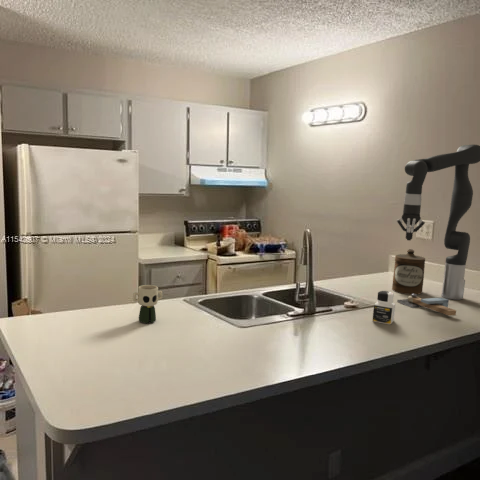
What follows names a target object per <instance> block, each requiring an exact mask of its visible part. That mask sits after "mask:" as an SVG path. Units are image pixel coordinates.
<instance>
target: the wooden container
mask: <svg viewBox="0 0 480 480" xmlns="http://www.w3.org/2000/svg"><path fill="white" fill-rule="evenodd" d="M406 251H407V253H406V254H395V257H394V268H393V275H392V286H391V287H392V288H391V290H392V291H394V292H396V293H400V294H404V295H411V294H412V293H413V294H417V295H420V294H423V286H424V277H425V264H426V258H425V257H424V256H422V255H421V256H420V255H415V254H414V253H415V250H413V249H412V248H411V249H410V248H409V249H407V250H406Z"/></svg>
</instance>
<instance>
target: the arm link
mask: <svg viewBox="0 0 480 480" xmlns="http://www.w3.org/2000/svg"><path fill="white" fill-rule="evenodd" d="M407 299H408V301H409V302H412V303H415V304H418V305H421V306H423V307H422V308H426V309H429V310H432V311H434V312H438V313H441V314H444V315H446V316H451V317H452V316H456V315H457V310H456V309H453V308H450V307H449V306H448V307H445V306H442V305H439V304H436V303H435V304H426V303H423V302H421V299H422V298H421V297H419V296H417V297H411V295H408V297H407Z"/></svg>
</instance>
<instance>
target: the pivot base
mask: <svg viewBox="0 0 480 480" xmlns="http://www.w3.org/2000/svg"><path fill="white" fill-rule="evenodd" d="M410 296H411V297H418V294H413V293H412V294H410ZM396 303H399V304H402V305H404V306H407V307H409V308H412V309H414V308H417V309H418V308H424V307H423V306H421V305H418V304H415V303H412V302H409V301H408V298H404V299H397V301H396Z"/></svg>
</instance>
